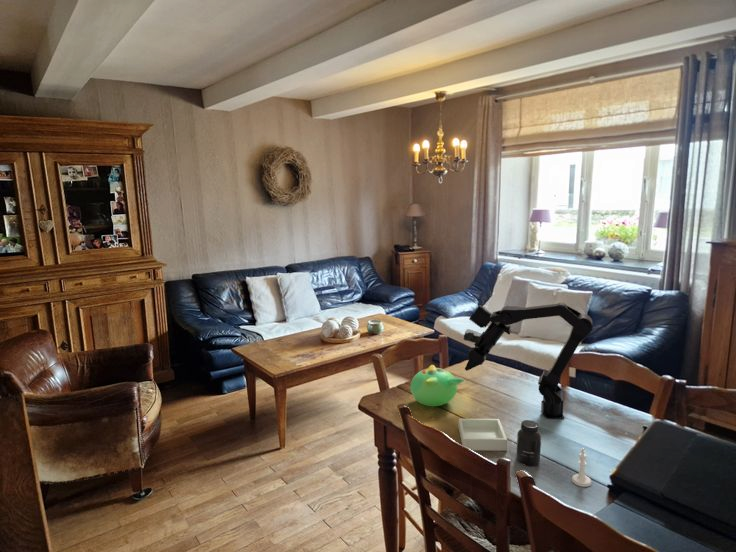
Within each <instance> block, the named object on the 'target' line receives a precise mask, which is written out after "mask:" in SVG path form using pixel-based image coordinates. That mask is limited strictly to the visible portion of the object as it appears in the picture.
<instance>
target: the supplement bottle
mask: <svg viewBox="0 0 736 552" xmlns="http://www.w3.org/2000/svg"><path fill="white" fill-rule="evenodd" d="M520 425H521V426H520V429H519V430H518V431H517V435H516V454H515V455H516V457H515V459H516V460H517V462H518V463H520V464H522V465H524V466H528V467H534V466H535V467H536V466H537V465H539V464H540V462H541V450H542V435H541V433H540V432H539V424H538V422H536V421H534V420H530V419H524V420H523V421H521V423H520Z"/></svg>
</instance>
